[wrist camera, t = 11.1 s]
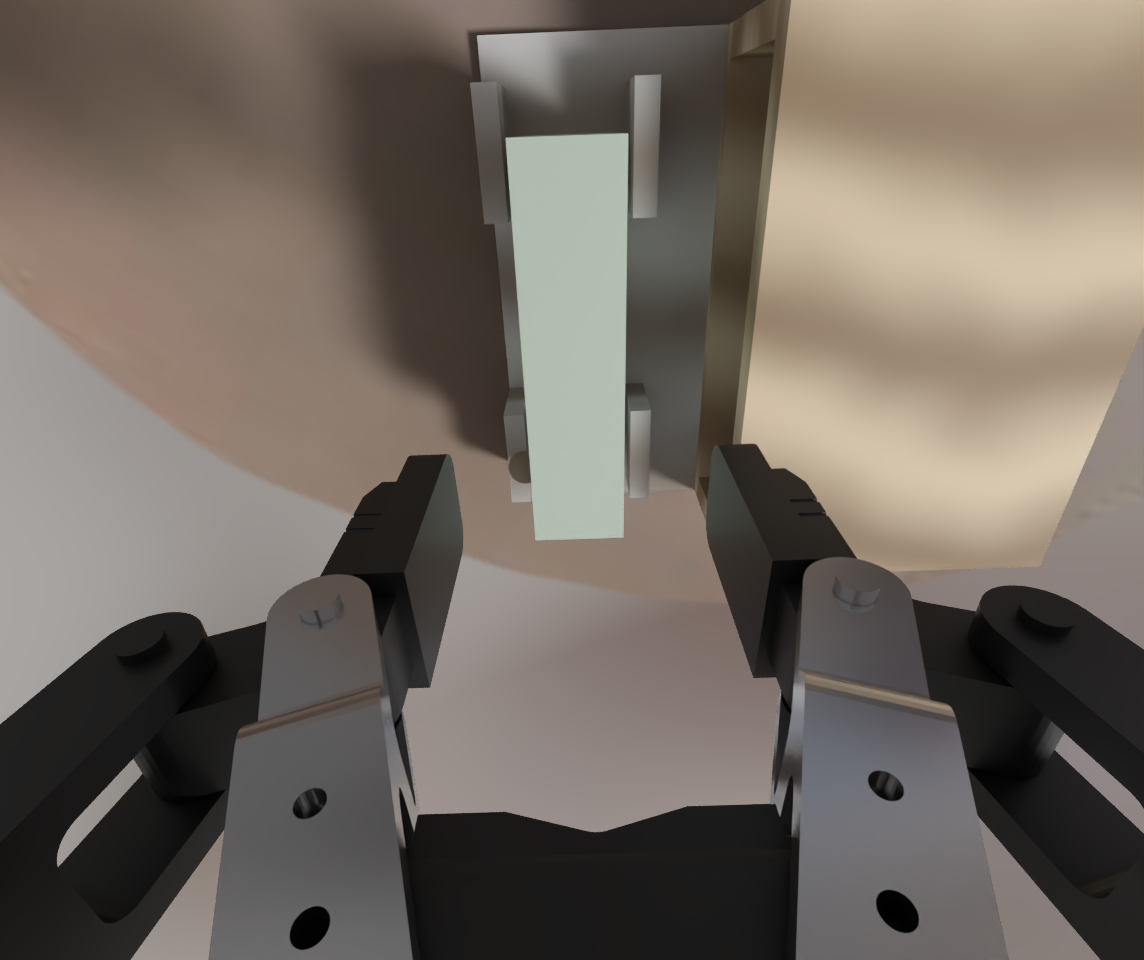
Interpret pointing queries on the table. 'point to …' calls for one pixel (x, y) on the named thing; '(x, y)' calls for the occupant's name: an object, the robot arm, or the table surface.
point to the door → (572, 327)
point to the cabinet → (859, 251)
